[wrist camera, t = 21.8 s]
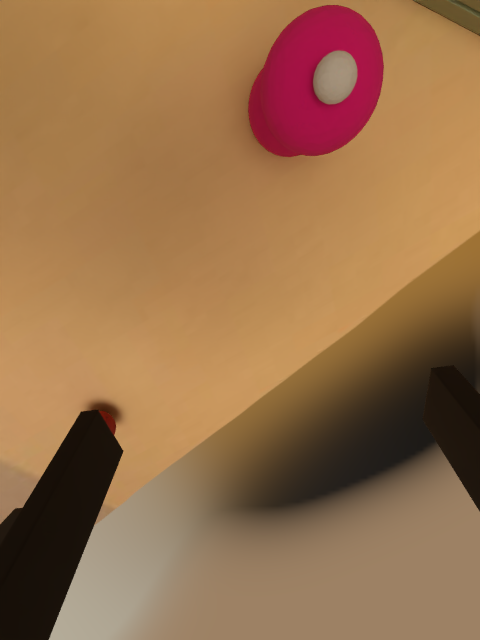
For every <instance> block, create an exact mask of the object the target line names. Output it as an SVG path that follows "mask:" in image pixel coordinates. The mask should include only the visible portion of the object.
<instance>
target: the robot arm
mask: <svg viewBox="0 0 480 640" xmlns="http://www.w3.org/2000/svg"><path fill="white" fill-rule="evenodd" d="M423 421H424V422H425V424H426V426H427V427H428V429H429V431H430V432H431V434H432V435H433V437H434V439H435V440H436V442H437V443H438V445H439V447H440V448H441V450H442V451H443V453H444V455H445V456H446V458H447V459H448V461H449V463H450V464H451V466H452V468H453V469H454V471H455V472H456V474H457V476H458V477H459V479H460V480H461V482H462V484H463V485H464V487H465V489H466V490H467V492H468V493H469V495H470V497H471V498H472V500H473V501H474V503H475V505H476V506H477V508H478V509H479V511H480V394H479V393H478V392H477V391H476V390H475V389H474V388H473V386H472V385H471V384H470V383H469V382H468V381H467V380H466V379H465V378H464V376H463V375H462V374H461V373H460V372H459V371H458V370H457V369H456V368H455V367H454V366H445V367H437V368H431V373H430V379H429V385H428V391H427V396H426V402H425V408H424V414H423ZM122 454H123V450H122V448H121V446H120V445H119V443H118V441H117V440H116V438H115V436H114V435H113V433H112V432H111V430H110V428H109V427H108V425H107V423H106V422H105V420H104V418H103V417H102V415H101V413H100V412H99V410H91V411H83V412H81V413H80V415H79V416H78V418H77V419H76V421H75V423H74V424H73V426H72V428H71V429H70V431H69V433H68V434H67V436H66V438H65V439H64V441H63V442H62V444H61V446H60V447H59V449H58V451H57V452H56V454H55V456H54V457H53V459H52V461H51V462H50V464H49V465H48V467H47V469H46V470H45V472H44V474H43V475H42V477H41V479H40V480H39V482H38V484H37V485H36V487H35V488H34V490H33V492H32V493H31V495H30V497H29V498H28V500H27V502H26V503H25V505H24V507H23V508H16V509H14V510H13V511H12V513H11V514H10V515H9V516H8V517H7V518H6V519H5V520H4V521H3V522H2V523H1V524H0V640H49V637H50V635H51V632H52V630H53V627H54V625H55V622H56V620H57V617H58V615H59V612H60V610H61V607H62V604H63V602H64V599H65V597H66V594H67V592H68V589H69V587H70V584H71V582H72V579H73V577H74V574H75V572H76V569H77V567H78V564H79V562H80V559H81V557H82V554H83V552H84V549H85V547H86V544H87V542H88V539H89V536H90V534H91V532H92V529H93V527H94V524H95V522H96V519H97V516H98V514H99V511H100V509H101V506H102V504H103V501H104V499H105V496H106V494H107V491H108V489H109V486H110V484H111V481H112V479H113V476H114V474H115V471H116V469H117V466H118V464H119V461H120V459H121V456H122Z"/></svg>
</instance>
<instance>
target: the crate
mask: <svg viewBox="0 0 480 640" xmlns="http://www.w3.org/2000/svg"><path fill="white" fill-rule="evenodd" d="M414 1H416V2H418V3H419V4H421V5H423V6H425V7H427V8H429V9H431V10H433V11H435V12H437V13H438V14H440V15H442V16H444V17H446V18H448V19H450V20H452V21H454V22H456V23H457V24H459V25H461V26H463V27H465V28H467V29H469V30H471V31H473V32H474V33H476V34H478V35H480V0H414Z"/></svg>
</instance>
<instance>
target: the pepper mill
mask: <svg viewBox="0 0 480 640" xmlns="http://www.w3.org/2000/svg"><path fill="white" fill-rule="evenodd" d="M383 69H384V65H383V56H382V51H381V47H380V43H379V40H378V38H377V36H376V33H375V31H374V29H373V28H372V26H371V25H370V24H369V23H368V22H367V21H366V20H365V19H364V18H363V17H362V16H361V15H360V14H358V13H357V12H355V11H354V10H352V9H350V8H347V7H343V6H339V5H326V6H321V7H317V8H313V9H310V10H308V11H306V12H305V13H303V14H302V15H300V16H298V17H297V18H296V19H294V20H293V21H292V22H291V23H290V24H288V26H287V27H286V28H285V29H284V30H283V31H282V32H281V34H280V35H279V37H278V38H277V40H276V41H275V42H274V44H273V46H272V48H271V50H270V52H269V54H268V57H267V60H266V62H265V65H264V68H263V69H262V70H261V71H260V73H259V74H258V76H257V78H256V80H255V82H254V84H253V86H252V90H251V93H250V98H249V108H248V112H249V120H250V125H251V128H252V131H253V133H254V135H255V137H256V138H257V140H258V141H259V143H260V144H261V145H262V146H263V147H264V148H265V149H266V150H268V151H269V152H271V153H273V154H275V155H279V156H283V157H292V156H298V155H306V156H317V155H324V154H327V153H330V152H333V151H335V150H337V149H339V148H341V147H342V146H344V145H346V144H347V143H348V142H350V141H351V140H352V139H353V138H354V137H355V136H356V135H357V134H358V133H359V132H360V131H361V130H362V129H363V127H364V126H365V125H366V123H367V122H368V121H369V119H370V117H371V115H372V113H373V111H374V109H375V107H376V105H377V102H378V99H379V96H380V92H381V87H382V81H383Z"/></svg>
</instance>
